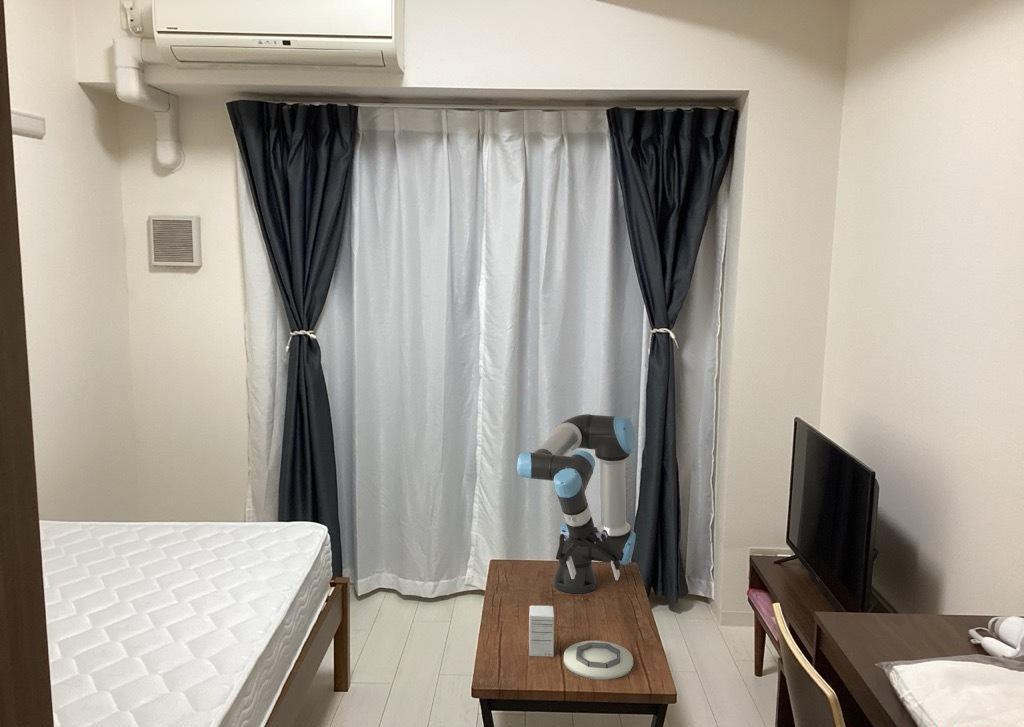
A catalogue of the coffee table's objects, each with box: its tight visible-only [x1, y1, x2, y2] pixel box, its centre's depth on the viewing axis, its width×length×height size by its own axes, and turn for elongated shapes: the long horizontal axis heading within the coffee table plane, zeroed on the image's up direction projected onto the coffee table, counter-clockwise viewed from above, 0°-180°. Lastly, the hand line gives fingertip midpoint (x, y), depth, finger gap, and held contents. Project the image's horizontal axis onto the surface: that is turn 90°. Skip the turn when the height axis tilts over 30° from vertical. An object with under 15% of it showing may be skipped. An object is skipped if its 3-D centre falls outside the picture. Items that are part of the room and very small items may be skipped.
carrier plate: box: [563, 640, 634, 681], centre depth 231 cm, size 20×20×2 cm
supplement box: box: [528, 605, 555, 658], centre depth 237 cm, size 7×7×13 cm
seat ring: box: [576, 642, 620, 668], centre depth 231 cm, size 13×13×1 cm
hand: (595, 576), depth 235 cm, fingers open, 13 cm apart
